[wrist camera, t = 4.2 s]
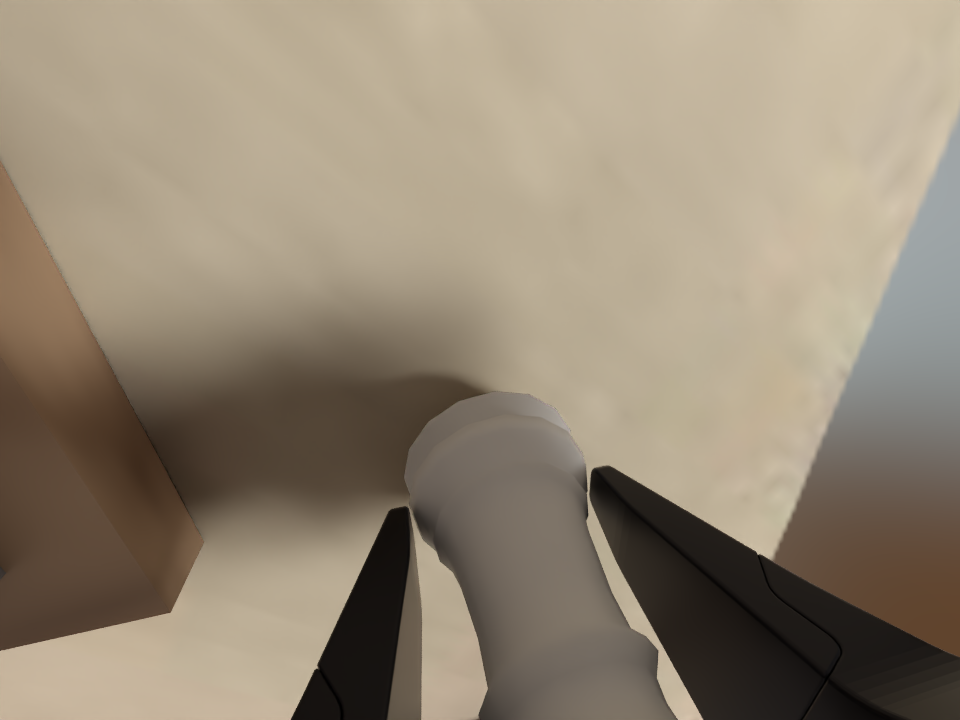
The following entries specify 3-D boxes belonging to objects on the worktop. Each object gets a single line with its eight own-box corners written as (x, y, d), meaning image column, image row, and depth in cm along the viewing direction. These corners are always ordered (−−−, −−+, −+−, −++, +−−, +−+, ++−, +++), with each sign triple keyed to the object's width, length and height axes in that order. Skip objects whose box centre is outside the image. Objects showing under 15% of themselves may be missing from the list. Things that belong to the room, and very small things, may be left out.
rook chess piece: (582, 474, 12) (868, 922, 5) (444, 538, 12) (533, 1083, 5) (539, 352, 10) (931, 832, 3) (370, 428, 10) (336, 1119, 3)
